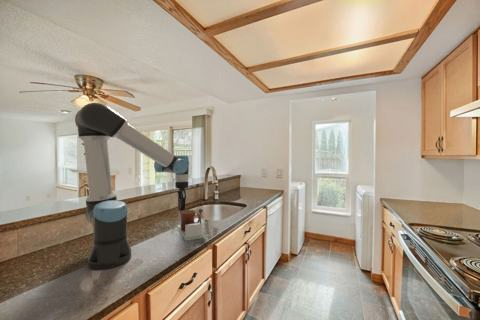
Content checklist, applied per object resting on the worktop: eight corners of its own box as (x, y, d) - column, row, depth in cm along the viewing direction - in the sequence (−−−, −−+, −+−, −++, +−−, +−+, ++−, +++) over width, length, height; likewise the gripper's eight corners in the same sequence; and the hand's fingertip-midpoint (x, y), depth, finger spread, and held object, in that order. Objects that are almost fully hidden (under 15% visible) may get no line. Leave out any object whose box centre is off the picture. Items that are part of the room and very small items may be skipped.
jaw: (180, 227, 118) (180, 217, 118) (178, 223, 125) (178, 214, 125) (194, 225, 121) (194, 216, 121) (191, 221, 128) (191, 213, 128)
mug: (176, 231, 112) (176, 213, 111) (183, 226, 120) (184, 209, 120) (196, 233, 109) (197, 215, 109) (202, 228, 118) (203, 210, 118)
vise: (185, 240, 103) (185, 211, 103) (177, 227, 123) (177, 202, 122) (203, 237, 107) (203, 209, 107) (192, 225, 127) (193, 201, 127)
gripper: (190, 182, 116) (190, 222, 117) (185, 179, 128) (185, 216, 128) (177, 182, 113) (176, 224, 113) (173, 180, 124) (173, 218, 125)
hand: (181, 220), depth 121 cm, fingers closed
